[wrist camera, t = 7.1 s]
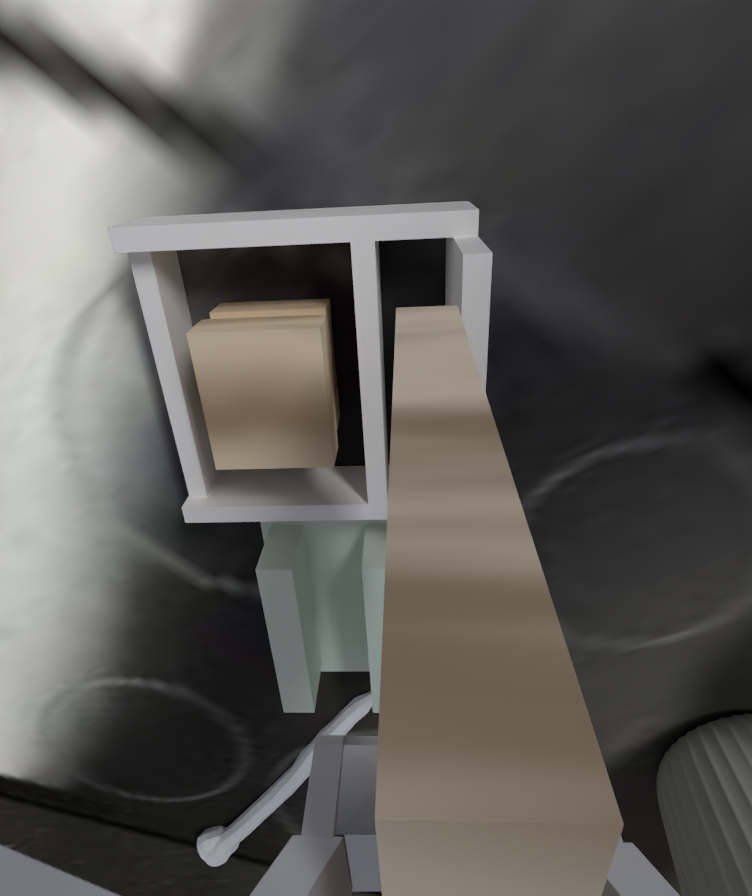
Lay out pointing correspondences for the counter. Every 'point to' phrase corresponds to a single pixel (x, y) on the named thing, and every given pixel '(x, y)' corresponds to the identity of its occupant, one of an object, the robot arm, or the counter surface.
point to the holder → (323, 603)
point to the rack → (363, 227)
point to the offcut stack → (268, 383)
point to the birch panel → (474, 659)
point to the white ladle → (275, 790)
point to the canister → (710, 807)
